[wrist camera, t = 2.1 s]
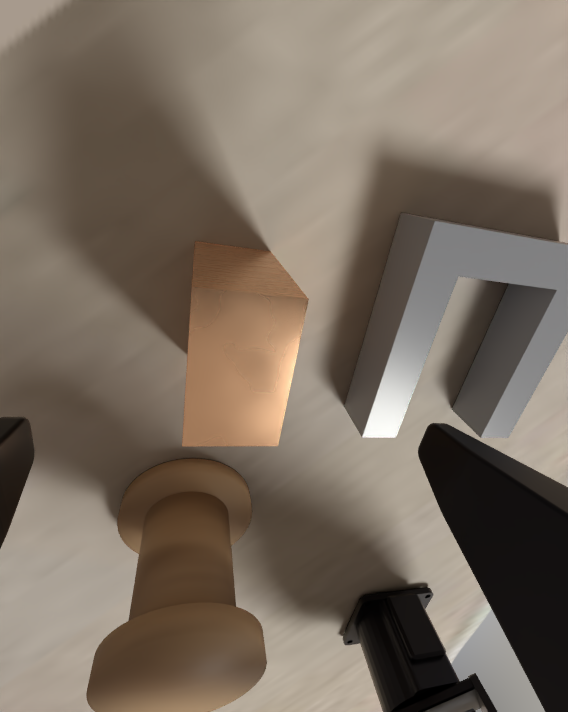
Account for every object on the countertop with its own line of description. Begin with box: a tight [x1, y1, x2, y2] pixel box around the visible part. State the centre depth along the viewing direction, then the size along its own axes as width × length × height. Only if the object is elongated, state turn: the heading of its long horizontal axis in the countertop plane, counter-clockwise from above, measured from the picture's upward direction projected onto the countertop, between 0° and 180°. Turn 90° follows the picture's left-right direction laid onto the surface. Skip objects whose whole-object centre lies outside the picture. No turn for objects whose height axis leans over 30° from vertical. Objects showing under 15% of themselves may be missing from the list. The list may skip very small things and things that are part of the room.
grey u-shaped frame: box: [344, 213, 568, 438], centre depth 17 cm, size 10×9×2 cm
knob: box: [87, 458, 267, 712], centre depth 17 cm, size 7×7×8 cm
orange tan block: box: [182, 241, 309, 446], centre depth 13 cm, size 5×3×6 cm, turn 170°
